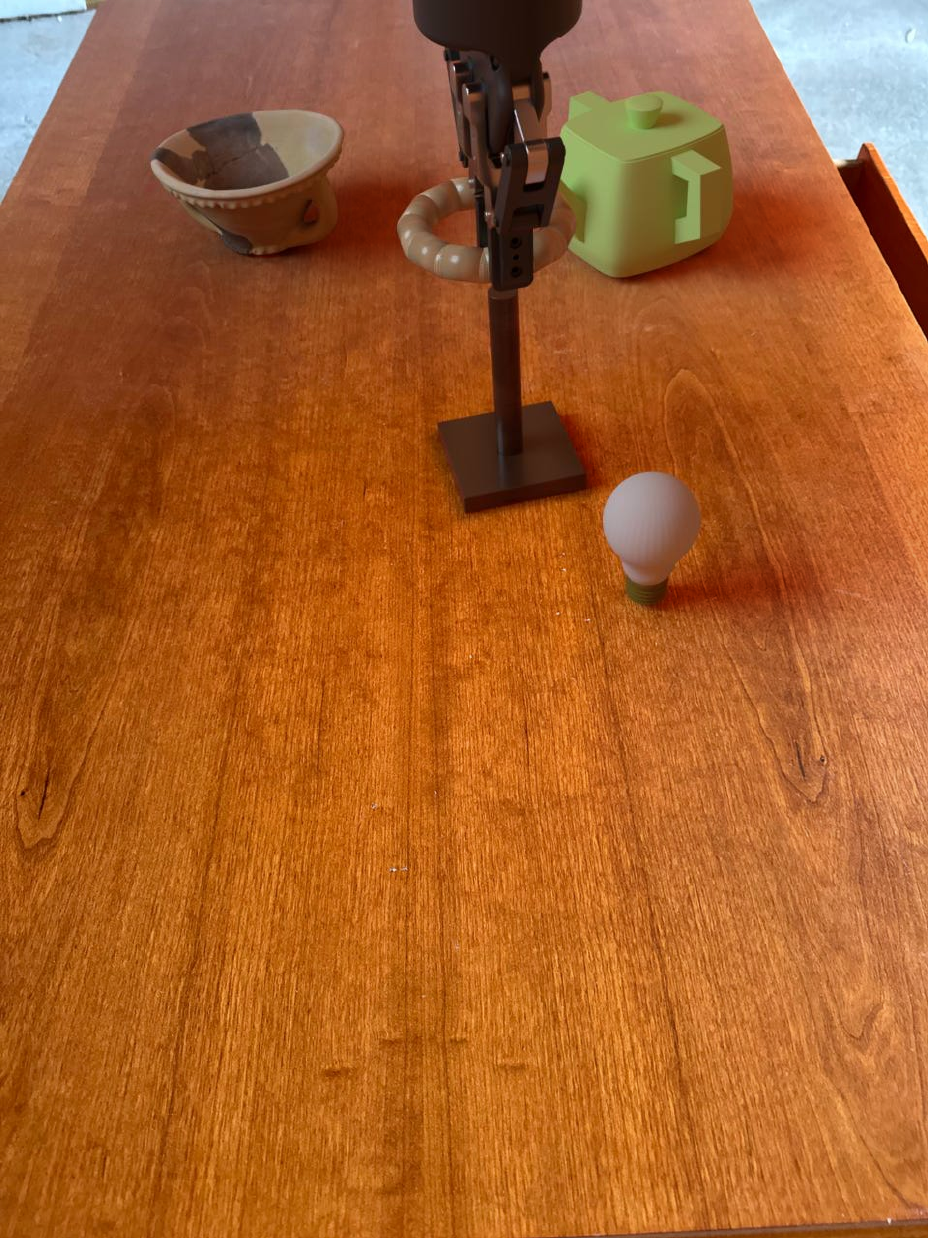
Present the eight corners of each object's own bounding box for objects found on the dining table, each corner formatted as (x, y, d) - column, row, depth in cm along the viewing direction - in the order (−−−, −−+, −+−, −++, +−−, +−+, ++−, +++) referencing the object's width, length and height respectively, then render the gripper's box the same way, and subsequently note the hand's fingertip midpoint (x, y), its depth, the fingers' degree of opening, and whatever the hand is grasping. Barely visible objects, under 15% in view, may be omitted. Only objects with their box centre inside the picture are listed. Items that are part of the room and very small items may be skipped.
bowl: (392, 210, 112) (380, 113, 105) (292, 306, 101) (272, 204, 94) (244, 180, 118) (224, 86, 111) (135, 267, 107) (106, 169, 100)
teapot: (599, 335, 95) (603, 186, 86) (475, 236, 107) (467, 96, 98) (770, 264, 101) (792, 117, 91) (634, 178, 113) (641, 40, 103)
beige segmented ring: (547, 186, 67) (547, 157, 66) (596, 271, 60) (597, 240, 59) (387, 213, 66) (383, 183, 65) (419, 302, 60) (416, 271, 58)
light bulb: (667, 644, 72) (679, 529, 65) (584, 612, 74) (587, 497, 67) (705, 585, 75) (721, 469, 68) (624, 556, 78) (631, 440, 70)
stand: (551, 415, 88) (550, 244, 78) (586, 489, 82) (589, 315, 72) (438, 437, 88) (421, 267, 77) (465, 513, 82) (450, 341, 71)
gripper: (635, -55, 44) (614, 332, 56) (535, -154, 53) (536, 199, 66) (444, -26, 43) (467, 360, 56) (375, -132, 52) (409, 221, 65)
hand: (505, 271), depth 60 cm, fingers closed on beige segmented ring, 2 cm apart
